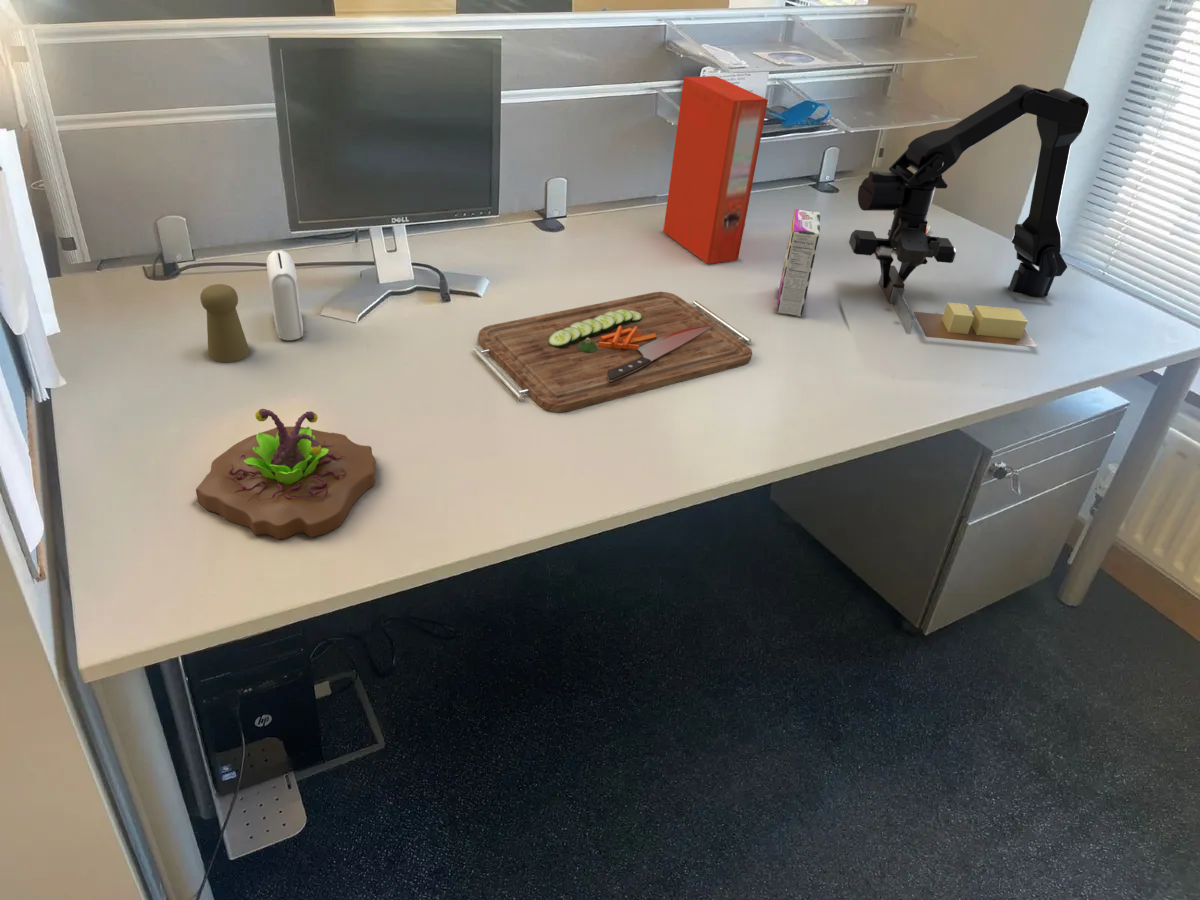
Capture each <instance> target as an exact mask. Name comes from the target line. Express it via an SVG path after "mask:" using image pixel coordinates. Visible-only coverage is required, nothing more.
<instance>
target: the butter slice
mask: <svg viewBox="0 0 1200 900" xmlns="http://www.w3.org/2000/svg"><path fill="white" fill-rule="evenodd" d="M972 313H973V311H971V309H970V308H969V306H968V304H967V303H958V302H948V301H947V303H946V305H945V308H944V311H943V313H942V314H943V317H942V321H943V323H944V325H945V327H946V328H947V330H948V332H951V333H961V334H968V332H969V329H970V326H971V324H972V321H973V318H974V316H973V314H972Z"/></svg>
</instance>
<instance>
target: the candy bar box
mask: <svg viewBox="0 0 1200 900" xmlns="http://www.w3.org/2000/svg"><path fill="white" fill-rule="evenodd" d="M792 216H793V217H792V219H791V225H790V229H789V236H788V240H787V244H786V250H785V254H784V255H785V256H784V259H783V265H782V271H781V277H780V282H779V289H778V296H777V307H776V313H777V314H778V315H784V316H791V317H799V318H802V317H803V313H804V308H805V304H806V299H807V295H808V290H809V285H810V280H811V276H812V271H813V266H814V262H815V257H816V252H817V247H818V242H819V238H820V233H821V212H820V211H813V210H809V209H801V208H794V211H793V215H792Z"/></svg>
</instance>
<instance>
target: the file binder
mask: <svg viewBox="0 0 1200 900" xmlns="http://www.w3.org/2000/svg"><path fill="white" fill-rule="evenodd" d="M768 102H769V99H767V98H765V97H763V96H760V95H758V94H756V93H755V92H752V91H750V90H748V89H745V88H743V87H741V86H739V85H736V84H734V83H732V82H730V81H728V80H726V79H724V78H721V77H718V76H717V75H716V76H715V75H707V76H706V75H705V76H684V77H683V82H682V87H681V96H680V104H679V112H678V119H677V127H676V133H675V141H674V148H673V155H672V156H673V157H672V163H671V170H670V171H671V172H670V178H669V185H668V193H667V202H666V209H665V216H664V222H663V223H664V224H663V230H662V232H663V233H665V235H667V236H668V237H669V238H670V239H672V240H674V241H675V242H677V243H678V244H679V245H681V246H682V247H683V248H685V249H686V250H687V251H689V252H690V253H692V254H693V255H695V256H696V257H698V258H699V259H700V260H701V261H703V262H704V263H706V264H708V265H714V264H721V263H727V262H728V263H729V262H734V261H738V259H739V257H740V252H741V247H742V241H743V236H744V230H745V227H746V226H745V225H746V221H747V220H746V219H747V214H748V209H749V204H750V198H751V193H752V188H753V182H754V177H755V172H756V168H757V167H756V166H757V161H758V156H759V150H760V145H761V139H762V135H763V134H762V133H763V130H764V129H763V128H764V123H765V118H766V112H767V107H768Z"/></svg>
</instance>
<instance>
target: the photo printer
mask: <svg viewBox="0 0 1200 900" xmlns="http://www.w3.org/2000/svg"><path fill="white" fill-rule="evenodd" d="M266 272H267V280H268V286H269V287H268V288H269V293H270V294H269V295H270V302H271V308H272V315H273V319H274V325H275V329H276V332H277V336H278V337H279V339H282V340H283V341H295V340H298V339H300V338H301V337H303V335H304V324H303V317H302V309H301V303H300V302H301V301H300V294H299V286H298V277H297V271H296V265H295V262H294V259H293V258H292V256H291V255H290V253H288V252H287V251H285V250H283V249H279V250H273V251H272V252H270V253H269V255H268V256H267V258H266Z"/></svg>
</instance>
